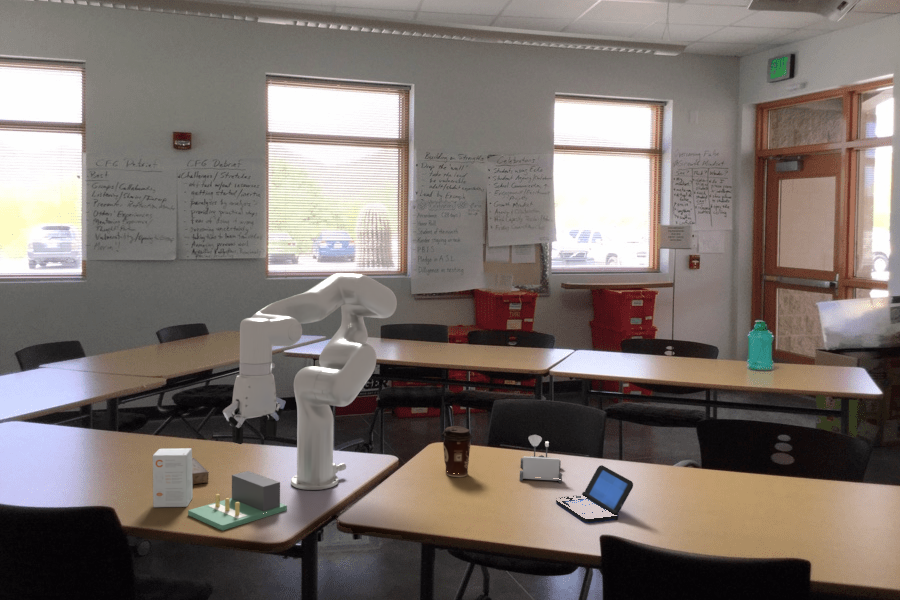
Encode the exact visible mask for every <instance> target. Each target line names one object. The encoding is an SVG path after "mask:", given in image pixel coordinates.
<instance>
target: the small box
mask: <svg viewBox="0 0 900 600" xmlns="http://www.w3.org/2000/svg"><path fill="white" fill-rule="evenodd" d="M192 449H193V448H190V447H189V448H188V447H186V448H181V447H180V448H159V449H157V451H155V452H154V453H153V455H152V498H153V499H152V503H153V505H152V506H153V508H182V507H183V508H186V507H188V505H190V503H191V501H192V499H193V495H194V494H193V486H194V485H193V483H192V458H193V450H192Z"/></svg>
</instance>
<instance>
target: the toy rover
mask: <svg viewBox="0 0 900 600" xmlns="http://www.w3.org/2000/svg"><path fill="white" fill-rule="evenodd" d="M542 440H543V437H541V436H540V435H537V433H535V434H532V435H531V434H530V435H529V436H528V441H529V443H530V444H531V446H532V447H533V456H532V455H530V456H525V455H524V456H522V457H521V458H520V468H522V470H519V482H523V481H524V480H523V479H525V480H541V481H558V484H562V483H563V481H562V480H563V473H562V472H560V471H561V464H562V463H561V460H560V458H559V457H558V458H557V457H550V456H549V457H548V448H549V446H550V445H549V443H550V442H549V441H548V440H547V441H544V442H545V443H544V446H545V456H544V455H539V456H536V448H537V447H538V446H539V445H540V444H541V442H542ZM535 477H541V478H535ZM553 478H559V479H561V480H559V479H553Z"/></svg>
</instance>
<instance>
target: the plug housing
mask: <svg viewBox="0 0 900 600" xmlns="http://www.w3.org/2000/svg"><path fill="white" fill-rule="evenodd" d="M231 498H232V499H233V500H236V501H238V502H241V503H243V504H246V505H248V506H251V507H253V508H256V509H258V510H261V511H263V512H264V511H267V510H270V509H273V508H277V507H280V503H281V482H280V481H278V480H275V479H272V478H270V477H267V476H263V475H260V474H258V473H255V472H252V471H249V470H246V471H243V472H239V473H234V474H231Z"/></svg>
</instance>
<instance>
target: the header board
mask: <svg viewBox="0 0 900 600" xmlns="http://www.w3.org/2000/svg"><path fill="white" fill-rule="evenodd" d="M214 496H215V502H213V503H208V504H205V505H202V506H198V507H195V508H191V509H188V511H187V515H188V516H189V517H191V518H193V519H196V520H198V521H200V522H203V524H206V525H208V526H211V527H214V528H216V529H217V530H220V531H221V532H222V531H225V530H226V531H227V530H228V529H229V530H230V529H232V528H235V527H238V526H241V525H244V524H248V523H251V522H254V521H257V520H261V519H263V518H266V517H270V516H273V515H277V514H279V513H282V512H286V511H288V506H287V505H286V504H285V503H282V502H280V507H277V508H273V509H270V510H267V511H264V512H263V511H261V510H258V509H256V508H253V507H251V506H248V505H246V504H243V503H241V502H238V501H236V500H233V499H232V497H231V498H229V497H226V498H224V500H221V495H220V493H216V494H215V495H214ZM266 512H267V513H266ZM263 513H264V514H263Z"/></svg>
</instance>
